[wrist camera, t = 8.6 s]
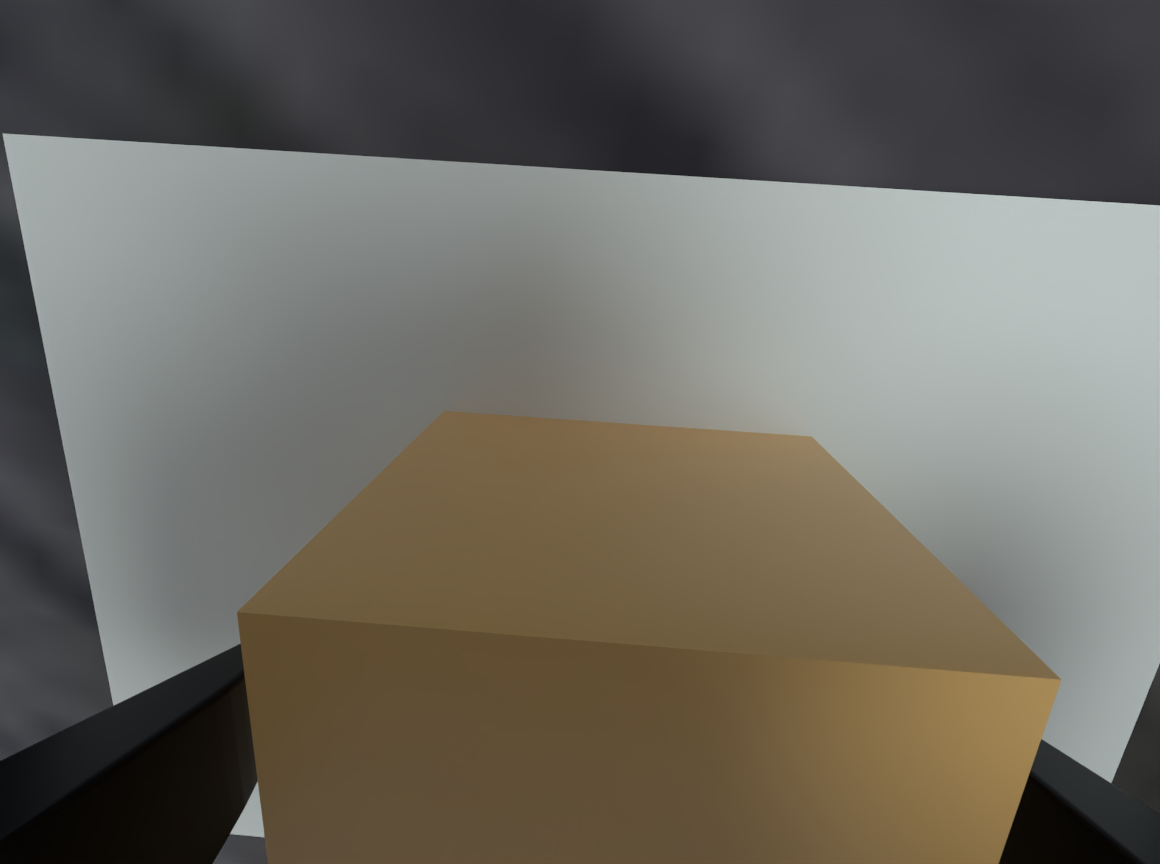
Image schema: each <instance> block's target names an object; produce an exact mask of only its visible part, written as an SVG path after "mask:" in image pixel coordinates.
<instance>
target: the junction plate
mask: <svg viewBox="0 0 1160 864" xmlns="http://www.w3.org/2000/svg"><path fill="white" fill-rule="evenodd" d="M3 139H4V144H5V149H6V154H7V159H8V165H9V170H10V175H11V180H12V185H13V190H14V196H15V201H16V206H17V211H18V216H19V221H20V226H21V232H22V237H23V242H24V247H25V252H26V257H27V262H28V268H29V273H30V278H31V283H32V288H33V293H34V298H35V304H36V309H37V314H38V319H39V324H40V329H41V335H42V340H43V345H44V350H45V355H46V360H47V365H48V371H49V376H50V381H51V386H52V391H53V396H54V401H55V407H56V412H57V417H58V422H59V427H60V432H61V437H62V443H63V448H64V453H65V458H66V463H67V468H68V474H69V479H70V484H71V489H72V494H73V499H74V504H75V510H76V515H77V520H78V525H79V530H80V535H81V540H82V546H83V551H84V556H85V561H86V566H87V571H88V576H89V582H90V587H91V592H92V597H93V602H94V607H95V613H96V618H97V623H98V628H99V633H100V638H101V643H102V649H103V654H104V659H105V664H106V669H107V674H108V679H109V685H110V690H111V695H112V700H113V705H116V704H118V703H120V702H122V701H124V700H126V699H128V698H130V697H132V696H134V695H136V694H138V693H140V692H142V691H144V690H146V689H149V688H151V687H153V686H155V685H157V684H159V683H161V682H163V681H165V680H167V679H169V678H171V677H173V676H175V675H177V674H179V673H181V672H183V671H185V670H187V669H189V668H191V667H193V666H196V665H198V664H200V663H202V662H204V661H206V660H208V659H210V658H212V657H214V656H216V655H218V654H220V653H222V652H224V651H226V650H228V649H230V648H232V647H234V646H236V645H238V644H241V642H240V634H239V626H238V618H237V611H238V610H239V609H240V608H241V607H242V606H244V605H245V604H246V603H247V602H248V601H249V600H250V599H251V598H252V597H253V596H254V595H255V594H256V593H257V592H258V591H259V590H260V589H261V588H262V587H263V586H264V585H265V584H266V583H267V582H268V581H269V580H270V579H271V578H272V577H273V576H274V575H275V574H276V573H277V572H279V571H280V570H281V569H282V568H283V567H284V566H285V565H286V564H287V563H288V562H289V561H290V560H291V559H292V558H293V557H294V556H295V555H296V554H297V553H298V552H299V551H300V550H301V549H302V548H303V547H304V546H305V545H306V544H307V543H308V542H309V541H310V540H311V539H313V538H314V537H315V536H316V535H317V534H318V533H319V532H320V531H321V530H322V529H323V528H324V527H325V526H326V525H327V524H328V523H329V522H330V521H331V520H332V519H333V518H334V517H335V516H336V515H337V514H338V513H339V512H340V511H341V510H342V509H343V508H344V507H345V506H346V505H348V504H349V503H350V502H351V501H352V500H353V499H354V498H355V497H356V496H357V495H358V494H359V493H360V492H361V491H362V490H363V489H364V488H365V487H366V486H367V485H368V484H369V483H370V482H371V481H372V480H373V479H374V478H375V477H376V476H377V475H378V474H379V473H380V472H382V471H383V470H384V469H385V468H386V467H387V466H388V465H389V464H390V463H391V462H392V461H393V460H394V459H395V458H396V457H397V456H398V455H399V454H400V453H401V452H402V451H403V450H404V449H405V448H406V447H407V446H408V445H409V444H410V443H411V442H412V441H413V440H414V439H416V438H417V437H418V436H419V435H420V434H421V433H422V432H423V431H424V430H425V429H426V428H427V427H428V426H429V425H430V424H431V423H432V422H433V421H434V420H435V419H436V418H437V417H438V416H439V415H440V414H441V413H442V412H443V411H452V412H466V413H480V414H495V415H509V416H524V417H538V418H553V419H567V420H581V421H596V422H610V423H625V424H639V425H654V426H668V427H682V428H697V429H711V430H726V431H740V432H755V433H769V434H783V435H798V436H812V437H813V438H814V439H815V440H816V441H817V442H818V443H819V444H820V445H821V446H822V447H823V448H824V449H825V450H826V451H827V452H828V453H829V454H830V455H831V456H832V457H833V458H834V459H835V460H837V461H838V462H839V463H840V464H841V465H842V466H843V467H844V468H845V469H846V470H847V471H848V472H849V473H850V474H851V475H852V476H853V477H854V478H855V479H856V480H857V481H858V482H859V483H860V484H861V485H862V486H863V487H864V488H865V489H866V490H867V491H868V492H869V493H870V494H871V495H872V496H873V497H874V498H876V499H877V500H878V501H879V502H880V503H881V504H882V505H883V506H884V507H885V508H886V509H887V510H888V511H889V512H890V513H891V514H892V515H893V516H894V517H895V518H896V519H897V520H898V521H899V522H900V523H901V524H902V525H903V526H904V527H905V528H906V529H907V530H908V531H909V532H910V533H911V534H912V535H913V536H915V537H916V538H917V539H918V540H919V541H920V542H921V543H922V544H923V545H924V546H925V547H926V548H927V549H928V550H929V551H930V552H931V553H932V554H933V555H934V556H935V557H936V558H937V559H938V560H939V561H940V562H941V563H942V564H943V565H944V566H945V567H946V568H947V569H948V570H949V571H950V572H951V573H952V574H954V575H955V576H956V577H957V578H958V579H959V580H960V581H961V582H962V583H963V584H964V585H965V586H966V587H967V588H968V589H969V590H970V591H971V592H972V593H973V594H974V595H975V596H976V597H977V598H978V599H979V600H980V601H981V602H982V603H983V604H984V605H985V606H986V607H987V608H988V609H989V610H990V611H991V612H993V613H994V614H995V615H996V616H997V617H998V618H999V619H1000V620H1001V621H1002V622H1003V623H1004V624H1005V625H1006V626H1007V627H1008V628H1009V629H1010V630H1011V631H1012V632H1013V633H1014V634H1015V635H1016V636H1017V637H1018V638H1019V639H1020V640H1021V641H1022V642H1023V643H1024V644H1025V645H1026V646H1027V647H1028V648H1029V649H1031V650H1032V651H1033V652H1034V653H1035V654H1036V655H1037V656H1038V657H1039V658H1040V659H1041V660H1042V661H1043V662H1044V663H1045V664H1046V665H1047V666H1048V667H1049V668H1050V669H1051V670H1052V671H1053V672H1054V673H1055V674H1056V675H1057V676H1058V677H1059V678H1060V679H1061V683H1060V686H1059V689H1058V692H1057V694H1056V697H1055V700H1054V703H1053V706H1052V709H1051V712H1050V715H1049V718H1048V721H1047V724H1046V727H1045V730H1044V732H1043V735H1042V738H1041V739H1042V740H1044V741H1046V742H1047V743H1049V744H1050V745H1052V746H1053V747H1055V748H1057V749H1058V750H1060V751H1061V752H1063V753H1064V754H1066V755H1068V756H1069V757H1071V758H1072V759H1074V760H1075V761H1077V762H1079V763H1080V764H1082V765H1083V766H1085V767H1087V768H1088V769H1090V770H1091V771H1093V772H1094V773H1096V774H1098V775H1099V776H1101V777H1102V778H1104V779H1105V780H1107V781H1109V782H1110V783H1112V780H1113V778H1114V775H1115V773H1116V770H1117V768H1118V765H1119V763H1120V760H1121V758H1122V755H1123V753H1124V750H1125V748H1126V745H1127V743H1128V740H1129V738H1130V735H1131V733H1132V731H1133V728H1134V726H1135V723H1136V721H1137V718H1138V716H1139V713H1140V711H1141V708H1142V706H1143V703H1144V701H1145V698H1146V696H1147V693H1148V691H1149V688H1150V686H1151V683H1152V681H1153V678H1154V676H1155V674H1156V671H1157V669H1158V666H1159V664H1160V206H1159V205H1143V204H1127V203H1111V202H1095V201H1079V200H1062V199H1046V198H1030V197H1014V196H998V195H982V194H966V193H950V192H934V191H918V190H902V189H886V188H870V187H853V186H837V185H821V184H805V183H789V182H773V181H757V180H741V179H725V178H709V177H693V176H677V175H661V174H644V173H628V172H612V171H596V170H580V169H564V168H548V167H532V166H516V165H500V164H484V163H468V162H452V161H435V160H419V159H403V158H387V157H371V156H355V155H339V154H323V153H307V152H291V151H275V150H259V149H243V148H226V147H210V146H194V145H178V144H162V143H146V142H130V141H114V140H98V139H82V138H66V137H50V136H34V135H17V134H3ZM230 834H236V835H246V836H256V837H265V836H264V828H263V820H262V812H261V804H260V795H259V787H258V782H257V784H256V786H255V788H254V790H253V792H252V794H251V796H250V798H249V800H248V802H247V804H246V806H245V808H244V810H243V812H242V814H241V815H240V817H239V819H238V821H237V822H236V824H235V826H234V828H233V829H232V831H231V833H230Z"/></svg>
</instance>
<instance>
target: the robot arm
mask: <svg viewBox="0 0 1160 864" xmlns="http://www.w3.org/2000/svg"><path fill="white" fill-rule="evenodd" d="M257 782H258V779H257V771H256V763H255V755H254V747H253V739H252V731H251V723H250V715H249V707H248V699H247V691H246V683H245V675H244V666H243V658H242V650H241V644H238V645H236V646H234V647H232V648H230V649H228V650H226V651H224V652H222V653H220V654H218V655H216V656H214V657H212V658H210V659H208V660H206V661H204V662H202V663H200V664H198V665H196V666H193V667H191V668H189V669H187V670H185V671H183V672H181V673H179V674H177V675H175V676H173V677H171V678H169V679H167V680H165V681H163V682H161V683H159V684H157V685H155V686H153V687H151V688H149V689H146V690H144V691H142V692H140V693H138V694H136V695H134V696H132V697H130V698H128V699H126V700H124V701H122V702H120V703H118V704H116V705H114V706H112V707H110V708H108V709H106V710H104V711H101V712H99V713H97V714H95V715H93V716H91V717H89V718H87V719H85V720H83V721H81V722H79V723H77V724H75V725H73V726H71V727H69V728H67V729H65V730H63V731H61V732H59V733H56V734H54V735H52V736H50V737H48V738H46V739H44V740H42V741H40V742H38V743H36V744H34V745H32V746H30V747H28V748H26V749H24V750H22V751H20V752H18V753H16V754H14V755H12V756H9V757H7V758H5V759H3V760H1V761H0V864H212V863H213V862H214V860H215V858H216V857H217V855H218V853H219V852H220V850H221V848H222V846H223V845H224V843H225V841H226V840H227V838H228V836H229V835H230V833H231V831H232V829H233V828H234V826H235V824H236V822H237V821H238V819H239V817H240V815H241V814H242V812H243V810H244V808H245V806H246V804H247V802H248V800H249V798H250V796H251V794H252V792H253V790H254V788H255V786H256V784H257ZM999 864H1160V814H1159V813H1157V812H1156V811H1154V810H1153V809H1151V808H1150V807H1148V806H1146V805H1145V804H1143V803H1142V802H1140V801H1139V800H1137V799H1135V798H1134V797H1132V796H1131V795H1129V794H1128V793H1126V792H1124V791H1123V790H1121V789H1120V788H1118V787H1116V786H1115V785H1113V784H1112V783H1110V782H1109V781H1107V780H1105V779H1104V778H1102V777H1101V776H1099V775H1098V774H1096V773H1094V772H1093V771H1091V770H1090V769H1088V768H1087V767H1085V766H1083V765H1082V764H1080V763H1079V762H1077V761H1075V760H1074V759H1072V758H1071V757H1069V756H1068V755H1066V754H1064V753H1063V752H1061V751H1060V750H1058V749H1057V748H1055V747H1053V746H1052V745H1050V744H1049V743H1047V742H1046V741H1044V740H1042V739H1041V741H1040V744H1039V747H1038V750H1037V753H1036V756H1035V759H1034V762H1033V765H1032V767H1031V770H1030V773H1029V776H1028V779H1027V782H1026V785H1025V788H1024V791H1023V794H1022V797H1021V800H1020V803H1019V805H1018V808H1017V811H1016V814H1015V817H1014V820H1013V823H1012V826H1011V829H1010V832H1009V835H1008V838H1007V840H1006V843H1005V846H1004V849H1003V852H1002V855H1001V858H1000V861H999Z"/></svg>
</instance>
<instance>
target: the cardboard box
mask: <svg viewBox="0 0 1160 864" xmlns="http://www.w3.org/2000/svg"><path fill="white" fill-rule="evenodd" d="M237 618H238V626H239V634H240V642H241V650H242V658H243V666H244V675H245V683H246V691H247V699H248V707H249V715H250V723H251V731H252V739H253V747H254V755H255V763H256V771H257V779H258V787H259V795H260V804H261V812H262V820H263V828H264V836H265V844H266V852H267V860H268V864H999V861H1000V858H1001V855H1002V852H1003V849H1004V846H1005V843H1006V840H1007V838H1008V835H1009V832H1010V829H1011V826H1012V823H1013V820H1014V817H1015V814H1016V811H1017V808H1018V805H1019V803H1020V800H1021V797H1022V794H1023V791H1024V788H1025V785H1026V782H1027V779H1028V776H1029V773H1030V770H1031V767H1032V765H1033V762H1034V759H1035V756H1036V753H1037V750H1038V747H1039V744H1040V741H1041V738H1042V735H1043V732H1044V730H1045V727H1046V724H1047V721H1048V718H1049V715H1050V712H1051V709H1052V706H1053V703H1054V700H1055V697H1056V694H1057V692H1058V689H1059V686H1060V683H1061V679H1060V678H1059V677H1058V676H1057V675H1056V674H1055V673H1054V672H1053V671H1052V670H1051V669H1050V668H1049V667H1048V666H1047V665H1046V664H1045V663H1044V662H1043V661H1042V660H1041V659H1040V658H1039V657H1038V656H1037V655H1036V654H1035V653H1034V652H1033V651H1032V650H1031V649H1029V648H1028V647H1027V646H1026V645H1025V644H1024V643H1023V642H1022V641H1021V640H1020V639H1019V638H1018V637H1017V636H1016V635H1015V634H1014V633H1013V632H1012V631H1011V630H1010V629H1009V628H1008V627H1007V626H1006V625H1005V624H1004V623H1003V622H1002V621H1001V620H1000V619H999V618H998V617H997V616H996V615H995V614H994V613H993V612H991V611H990V610H989V609H988V608H987V607H986V606H985V605H984V604H983V603H982V602H981V601H980V600H979V599H978V598H977V597H976V596H975V595H974V594H973V593H972V592H971V591H970V590H969V589H968V588H967V587H966V586H965V585H964V584H963V583H962V582H961V581H960V580H959V579H958V578H957V577H956V576H955V575H954V574H952V573H951V572H950V571H949V570H948V569H947V568H946V567H945V566H944V565H943V564H942V563H941V562H940V561H939V560H938V559H937V558H936V557H935V556H934V555H933V554H932V553H931V552H930V551H929V550H928V549H927V548H926V547H925V546H924V545H923V544H922V543H921V542H920V541H919V540H918V539H917V538H916V537H915V536H913V535H912V534H911V533H910V532H909V531H908V530H907V529H906V528H905V527H904V526H903V525H902V524H901V523H900V522H899V521H898V520H897V519H896V518H895V517H894V516H893V515H892V514H891V513H890V512H889V511H888V510H887V509H886V508H885V507H884V506H883V505H882V504H881V503H880V502H879V501H878V500H877V499H876V498H874V497H873V496H872V495H871V494H870V493H869V492H868V491H867V490H866V489H865V488H864V487H863V486H862V485H861V484H860V483H859V482H858V481H857V480H856V479H855V478H854V477H853V476H852V475H851V474H850V473H849V472H848V471H847V470H846V469H845V468H844V467H843V466H842V465H841V464H840V463H839V462H838V461H837V460H835V459H834V458H833V457H832V456H831V455H830V454H829V453H828V452H827V451H826V450H825V449H824V448H823V447H822V446H821V445H820V444H819V443H818V442H817V441H816V440H815V439H814V438H813V437H812V436H798V435H783V434H769V433H755V432H740V431H726V430H711V429H697V428H682V427H668V426H654V425H639V424H625V423H610V422H596V421H581V420H567V419H553V418H538V417H524V416H509V415H495V414H480V413H466V412H452V411H443V412H442V413H441V414H440V415H439V416H438V417H437V418H436V419H435V420H434V421H433V422H432V423H431V424H430V425H429V426H428V427H427V428H426V429H425V430H424V431H423V432H422V433H421V434H420V435H419V436H418V437H417V438H416V439H414V440H413V441H412V442H411V443H410V444H409V445H408V446H407V447H406V448H405V449H404V450H403V451H402V452H401V453H400V454H399V455H398V456H397V457H396V458H395V459H394V460H393V461H392V462H391V463H390V464H389V465H388V466H387V467H386V468H385V469H384V470H383V471H382V472H380V473H379V474H378V475H377V476H376V477H375V478H374V479H373V480H372V481H371V482H370V483H369V484H368V485H367V486H366V487H365V488H364V489H363V490H362V491H361V492H360V493H359V494H358V495H357V496H356V497H355V498H354V499H353V500H352V501H351V502H350V503H349V504H348V505H346V506H345V507H344V508H343V509H342V510H341V511H340V512H339V513H338V514H337V515H336V516H335V517H334V518H333V519H332V520H331V521H330V522H329V523H328V524H327V525H326V526H325V527H324V528H323V529H322V530H321V531H320V532H319V533H318V534H317V535H316V536H315V537H314V538H313V539H311V540H310V541H309V542H308V543H307V544H306V545H305V546H304V547H303V548H302V549H301V550H300V551H299V552H298V553H297V554H296V555H295V556H294V557H293V558H292V559H291V560H290V561H289V562H288V563H287V564H286V565H285V566H284V567H283V568H282V569H281V570H280V571H279V572H277V573H276V574H275V575H274V576H273V577H272V578H271V579H270V580H269V581H268V582H267V583H266V584H265V585H264V586H263V587H262V588H261V589H260V590H259V591H258V592H257V593H256V594H255V595H254V596H253V597H252V598H251V599H250V600H249V601H248V602H247V603H246V604H245V605H244V606H242V607H241V608H240V609H239V610H238V611H237Z"/></svg>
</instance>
